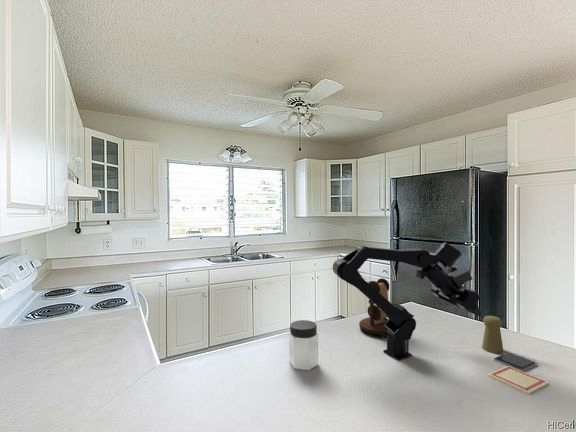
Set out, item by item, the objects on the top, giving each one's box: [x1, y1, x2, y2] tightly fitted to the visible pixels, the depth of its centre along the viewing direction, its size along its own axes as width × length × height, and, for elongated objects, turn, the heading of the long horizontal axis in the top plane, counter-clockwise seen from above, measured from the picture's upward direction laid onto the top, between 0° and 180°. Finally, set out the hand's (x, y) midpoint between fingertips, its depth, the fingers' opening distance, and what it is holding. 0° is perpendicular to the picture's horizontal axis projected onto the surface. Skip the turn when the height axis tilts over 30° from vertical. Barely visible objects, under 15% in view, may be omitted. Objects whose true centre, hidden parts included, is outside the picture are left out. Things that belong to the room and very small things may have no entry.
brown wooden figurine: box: [358, 277, 390, 338], centre depth 120 cm, size 15×15×20 cm
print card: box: [487, 365, 550, 395], centre depth 84 cm, size 10×10×1 cm
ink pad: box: [493, 352, 538, 372], centre depth 94 cm, size 8×8×1 cm
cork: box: [481, 315, 505, 355], centre depth 103 cm, size 6×6×11 cm
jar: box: [288, 319, 319, 371], centre depth 94 cm, size 9×8×12 cm
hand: (470, 310), depth 102 cm, fingers open, 9 cm apart
